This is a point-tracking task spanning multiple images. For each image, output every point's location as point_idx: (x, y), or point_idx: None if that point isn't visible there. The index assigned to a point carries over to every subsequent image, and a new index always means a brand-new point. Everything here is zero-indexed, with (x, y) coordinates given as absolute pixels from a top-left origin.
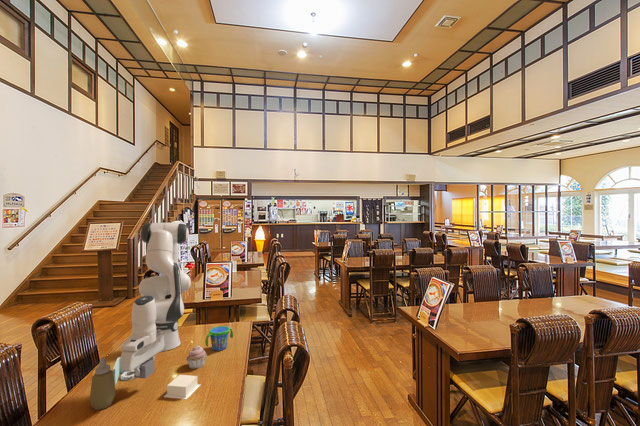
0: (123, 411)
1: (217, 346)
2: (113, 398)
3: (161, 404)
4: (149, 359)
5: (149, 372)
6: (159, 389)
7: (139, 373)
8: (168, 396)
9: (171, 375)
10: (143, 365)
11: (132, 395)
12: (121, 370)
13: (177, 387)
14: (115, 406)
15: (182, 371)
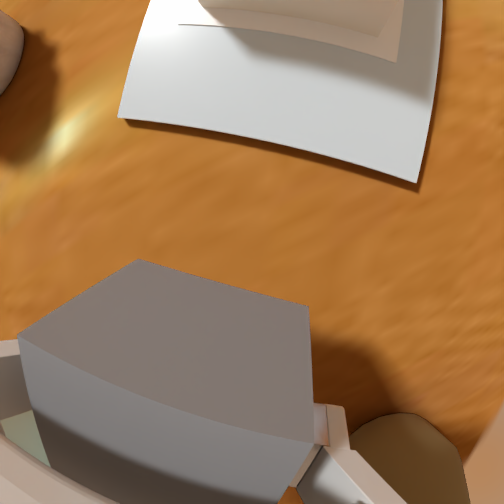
0: (492, 303)
1: None
2: (396, 428)
3: (458, 62)
4: (20, 410)
5: (219, 302)
6: (244, 156)
7: (342, 423)
8: (390, 25)
9: (57, 166)
10: (263, 482)
11: (312, 343)
12: None
13: None
14: (423, 381)
15: (24, 116)
